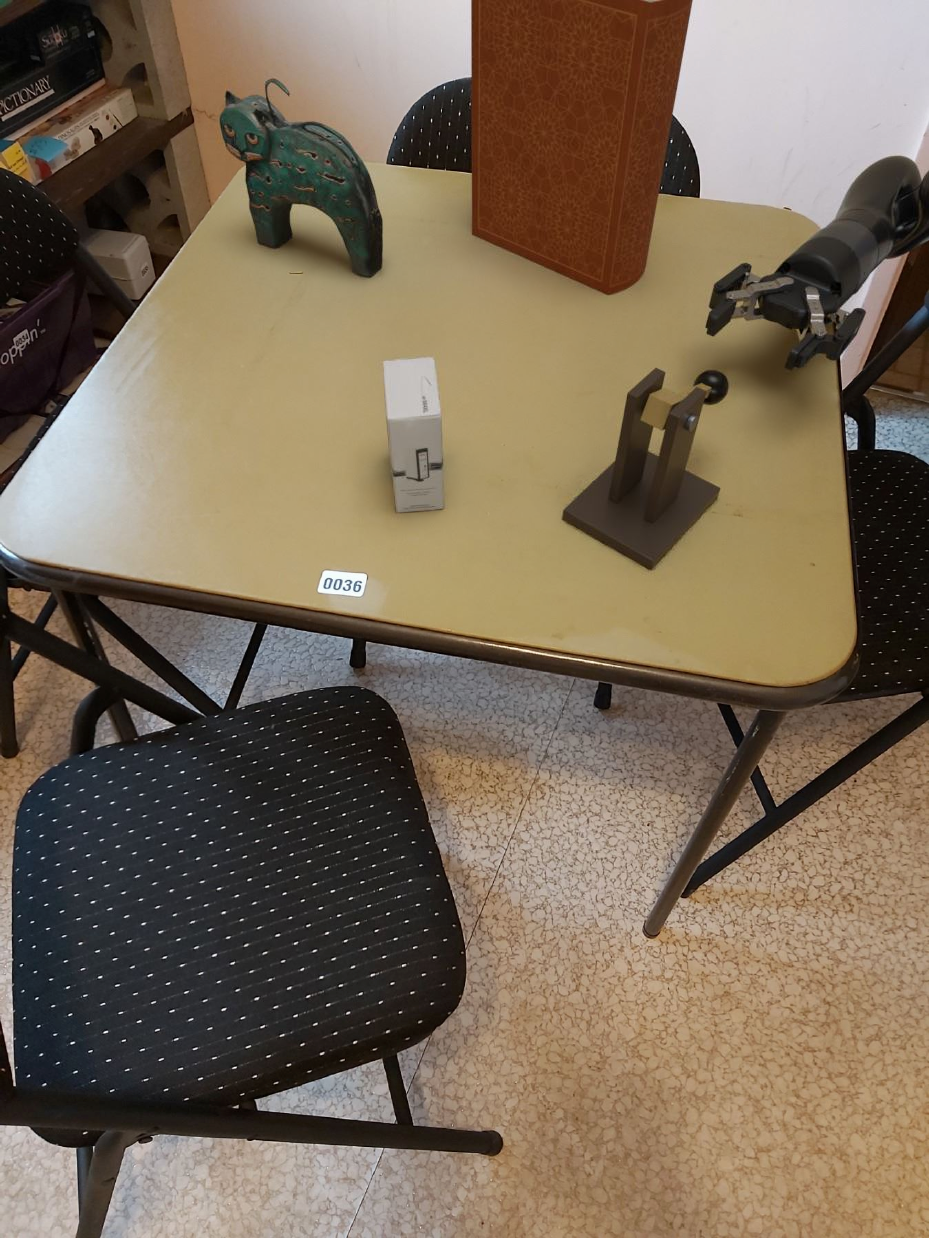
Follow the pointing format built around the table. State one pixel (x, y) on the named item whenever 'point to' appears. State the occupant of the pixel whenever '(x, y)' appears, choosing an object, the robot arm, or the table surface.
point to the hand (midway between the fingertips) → (749, 344)
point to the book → (573, 129)
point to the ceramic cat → (302, 177)
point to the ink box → (414, 433)
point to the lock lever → (668, 400)
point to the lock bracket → (646, 482)
